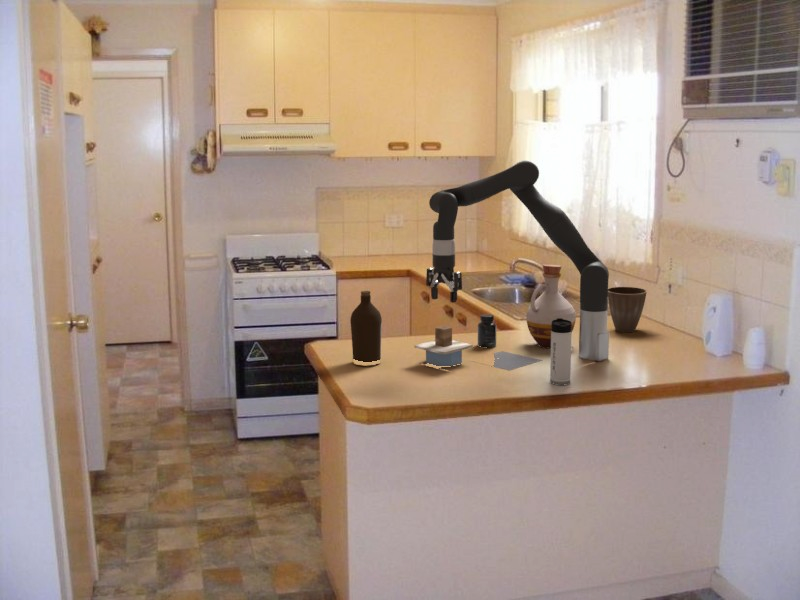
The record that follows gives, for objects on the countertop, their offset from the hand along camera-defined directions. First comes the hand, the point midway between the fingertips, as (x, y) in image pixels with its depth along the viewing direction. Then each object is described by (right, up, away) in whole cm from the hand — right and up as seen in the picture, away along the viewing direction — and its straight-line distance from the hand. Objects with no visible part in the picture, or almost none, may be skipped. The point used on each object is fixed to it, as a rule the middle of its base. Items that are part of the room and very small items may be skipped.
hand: (443, 300), depth 302 cm
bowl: (0, -22, +4) cm, 22 cm away
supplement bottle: (+17, -17, +27) cm, 36 cm away
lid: (0, -16, +3) cm, 16 cm away
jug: (+40, -17, +27) cm, 51 cm away
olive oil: (-26, -22, +7) cm, 34 cm away
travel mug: (+36, -26, -18) cm, 48 cm away
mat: (+21, -21, +6) cm, 31 cm away
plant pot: (+73, -12, +51) cm, 90 cm away
